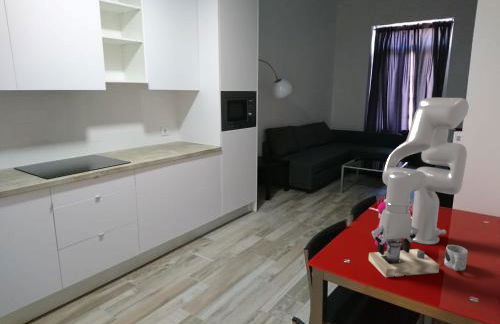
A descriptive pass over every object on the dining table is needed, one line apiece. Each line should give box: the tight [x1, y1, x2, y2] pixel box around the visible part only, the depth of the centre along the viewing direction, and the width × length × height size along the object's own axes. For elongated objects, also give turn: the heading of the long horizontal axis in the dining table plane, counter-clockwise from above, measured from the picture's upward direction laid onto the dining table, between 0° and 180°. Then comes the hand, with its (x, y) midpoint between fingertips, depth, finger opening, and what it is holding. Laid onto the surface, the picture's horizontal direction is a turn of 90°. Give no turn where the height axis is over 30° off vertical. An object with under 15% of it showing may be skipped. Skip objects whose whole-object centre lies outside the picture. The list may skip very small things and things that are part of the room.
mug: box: [443, 244, 469, 272], centre depth 117 cm, size 10×7×7 cm, turn 150°
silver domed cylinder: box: [386, 239, 403, 264], centre depth 118 cm, size 5×5×10 cm
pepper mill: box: [374, 198, 387, 249], centre depth 134 cm, size 7×7×20 cm
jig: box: [368, 248, 440, 278], centre depth 119 cm, size 20×12×5 cm, turn 98°
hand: (393, 252), depth 118 cm, fingers open, 9 cm apart
